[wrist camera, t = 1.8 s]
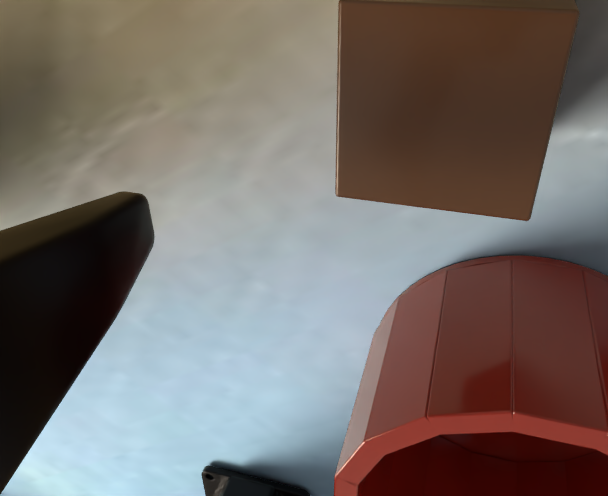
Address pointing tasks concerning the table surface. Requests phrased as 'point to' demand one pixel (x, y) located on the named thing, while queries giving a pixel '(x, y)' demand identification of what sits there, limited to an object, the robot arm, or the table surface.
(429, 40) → the block
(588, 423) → the pot
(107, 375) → the table surface
